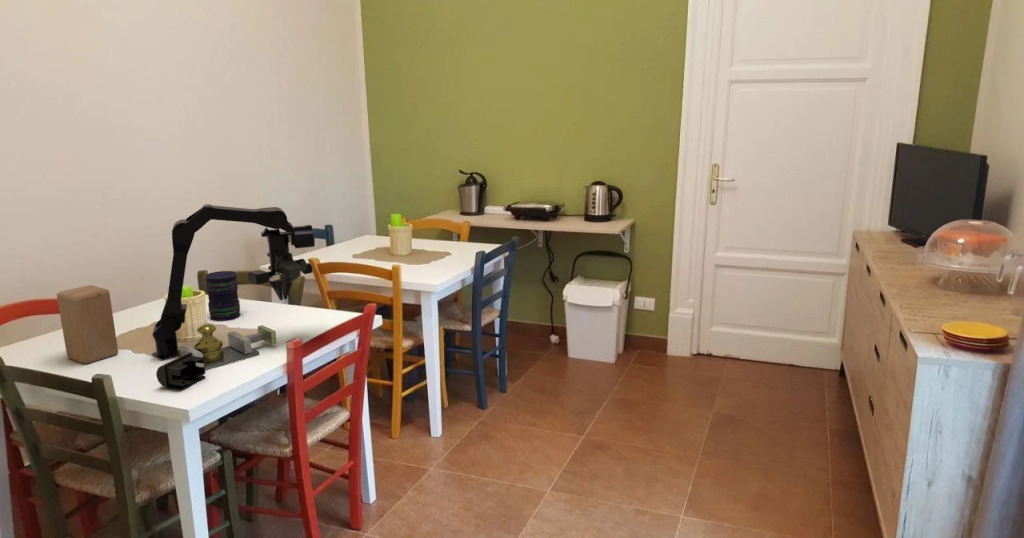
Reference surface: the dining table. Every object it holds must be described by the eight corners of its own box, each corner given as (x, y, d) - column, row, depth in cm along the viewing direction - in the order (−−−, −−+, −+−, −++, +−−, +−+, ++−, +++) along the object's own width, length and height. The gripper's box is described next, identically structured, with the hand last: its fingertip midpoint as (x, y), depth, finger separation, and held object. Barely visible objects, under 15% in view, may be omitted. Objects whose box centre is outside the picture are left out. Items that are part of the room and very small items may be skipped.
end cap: (185, 374, 187) (182, 351, 185) (207, 377, 185) (204, 353, 183) (157, 389, 178) (154, 364, 176) (180, 392, 176) (177, 367, 174)
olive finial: (209, 364, 191) (205, 330, 188) (189, 360, 194) (185, 326, 191) (229, 355, 197) (226, 322, 195) (210, 351, 200) (207, 319, 198)
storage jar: (207, 322, 229) (202, 279, 225) (212, 313, 238) (207, 271, 235) (238, 320, 231) (234, 277, 228) (242, 311, 241) (238, 270, 237)
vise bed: (180, 362, 195) (178, 345, 194) (241, 345, 208) (239, 330, 207) (198, 372, 188) (196, 355, 187) (259, 354, 201) (258, 338, 200)
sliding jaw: (228, 345, 204) (227, 332, 203) (261, 336, 212) (260, 324, 211) (245, 353, 198) (243, 340, 197) (278, 344, 206) (277, 331, 205)
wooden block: (120, 354, 201) (110, 288, 196) (85, 365, 193) (74, 297, 188) (100, 348, 206) (90, 283, 201) (65, 358, 198) (54, 292, 193)
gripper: (263, 259, 194) (268, 312, 198) (321, 248, 207) (324, 298, 211) (244, 253, 201) (249, 304, 205) (301, 243, 215) (304, 291, 219)
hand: (283, 299), depth 210 cm, fingers closed
